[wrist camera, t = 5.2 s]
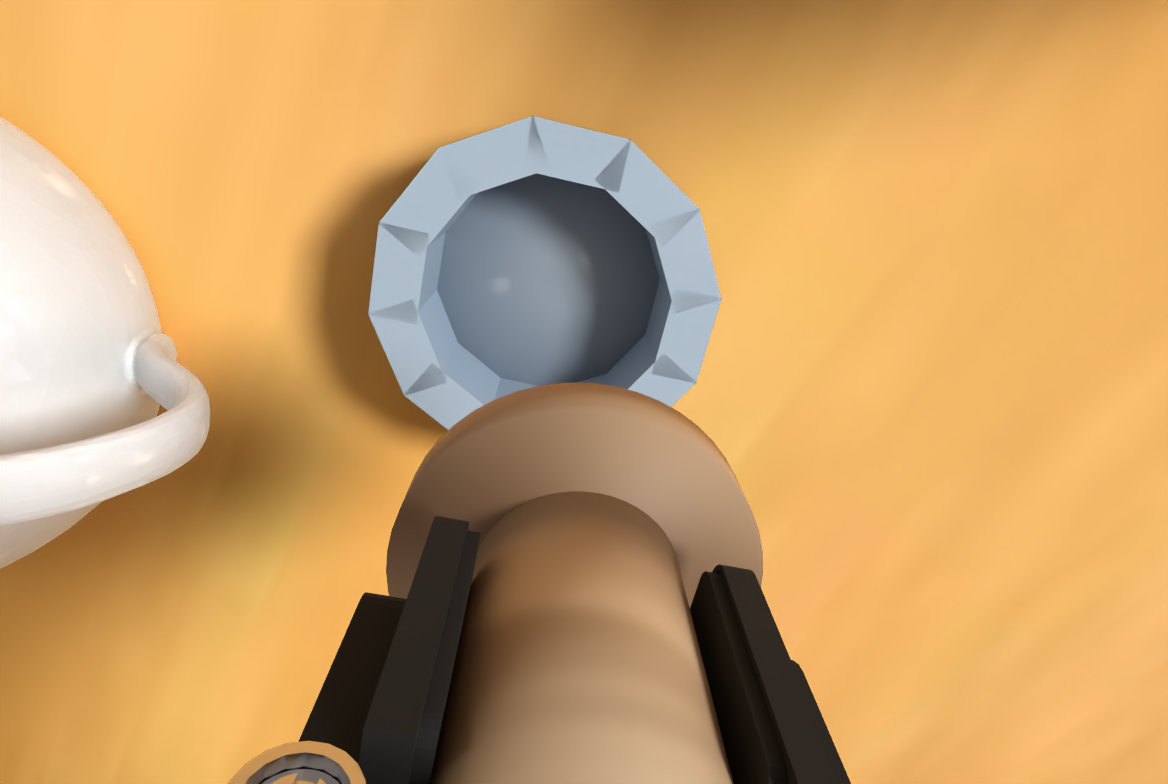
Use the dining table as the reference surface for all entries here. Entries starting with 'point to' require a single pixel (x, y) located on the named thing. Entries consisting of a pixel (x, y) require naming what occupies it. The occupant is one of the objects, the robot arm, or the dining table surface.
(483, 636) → the lid
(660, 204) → the blue faceted bowl
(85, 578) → the dining table surface
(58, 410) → the teapot
